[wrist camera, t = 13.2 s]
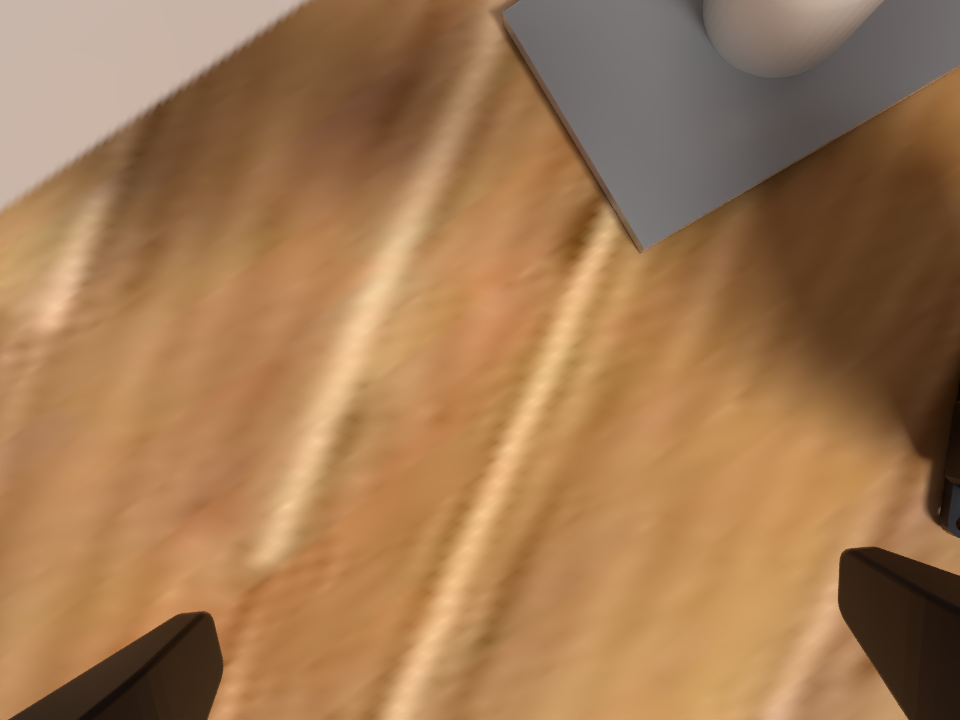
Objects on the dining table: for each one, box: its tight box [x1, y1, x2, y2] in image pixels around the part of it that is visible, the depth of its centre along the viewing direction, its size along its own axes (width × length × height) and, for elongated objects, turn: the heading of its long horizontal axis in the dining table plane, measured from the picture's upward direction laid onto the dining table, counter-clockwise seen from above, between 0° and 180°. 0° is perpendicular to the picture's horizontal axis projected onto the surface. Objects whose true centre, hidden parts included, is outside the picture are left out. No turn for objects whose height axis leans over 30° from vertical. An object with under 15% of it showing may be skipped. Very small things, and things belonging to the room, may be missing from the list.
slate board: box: [502, 0, 960, 253], centre depth 19 cm, size 16×10×1 cm, turn 120°
